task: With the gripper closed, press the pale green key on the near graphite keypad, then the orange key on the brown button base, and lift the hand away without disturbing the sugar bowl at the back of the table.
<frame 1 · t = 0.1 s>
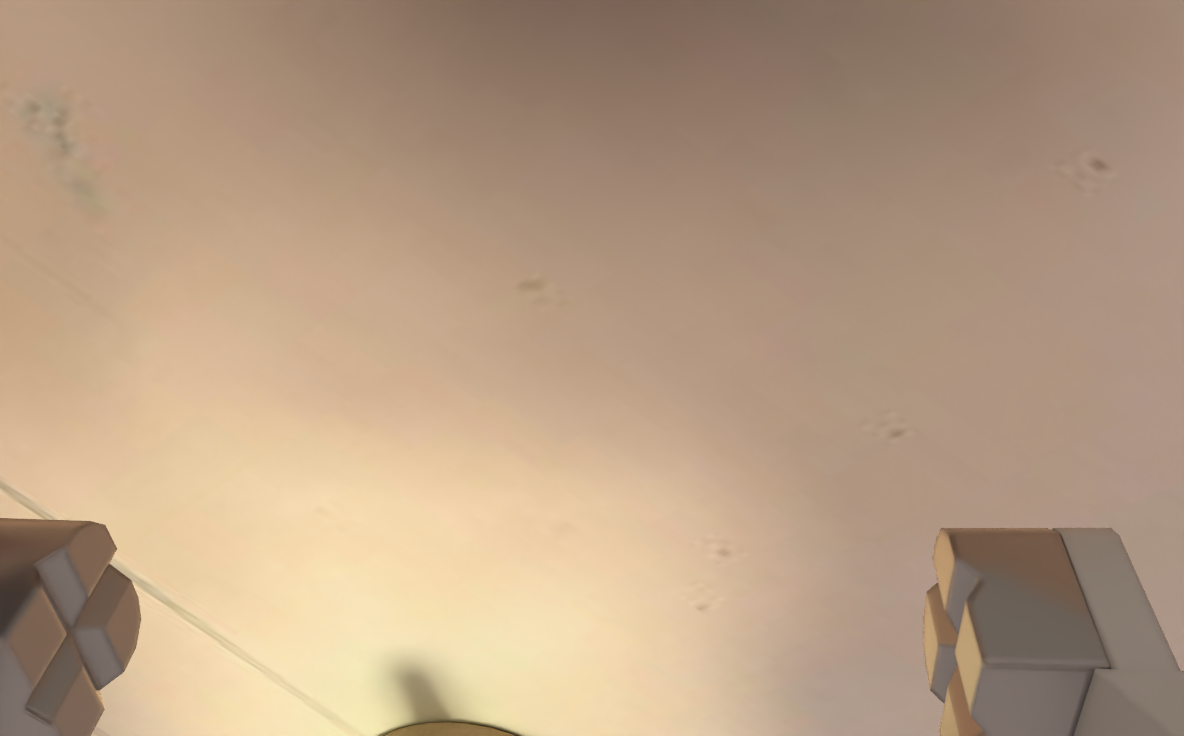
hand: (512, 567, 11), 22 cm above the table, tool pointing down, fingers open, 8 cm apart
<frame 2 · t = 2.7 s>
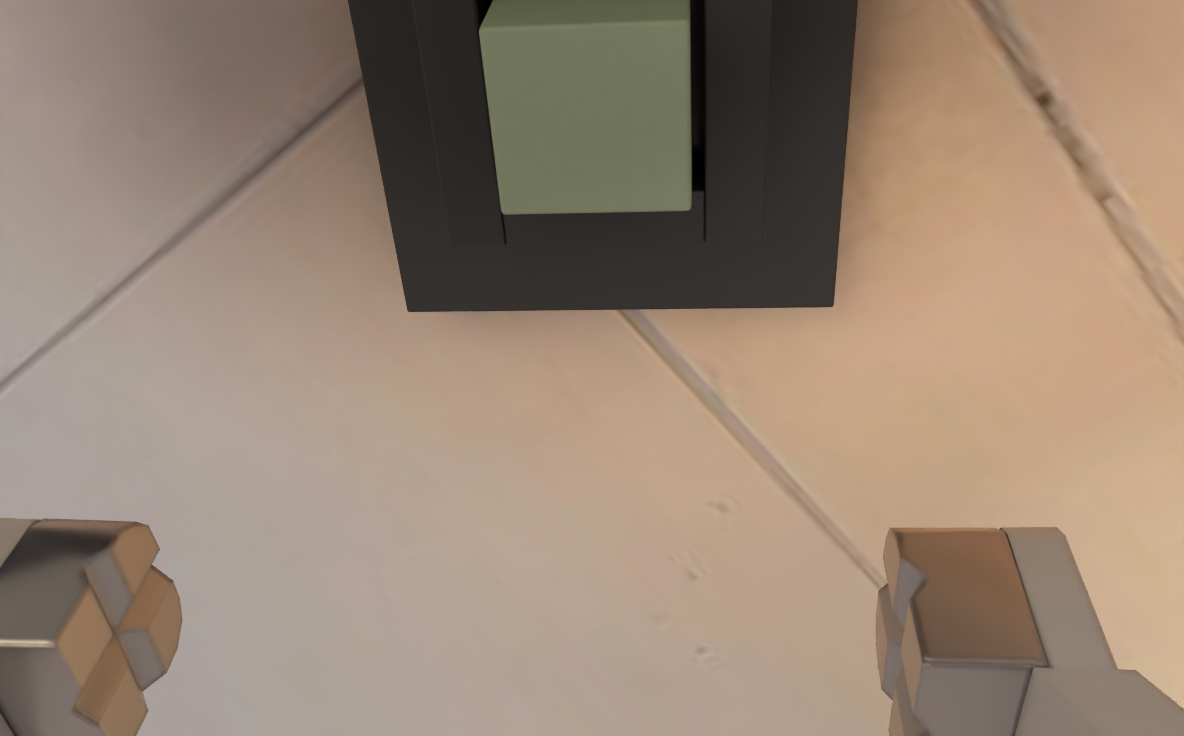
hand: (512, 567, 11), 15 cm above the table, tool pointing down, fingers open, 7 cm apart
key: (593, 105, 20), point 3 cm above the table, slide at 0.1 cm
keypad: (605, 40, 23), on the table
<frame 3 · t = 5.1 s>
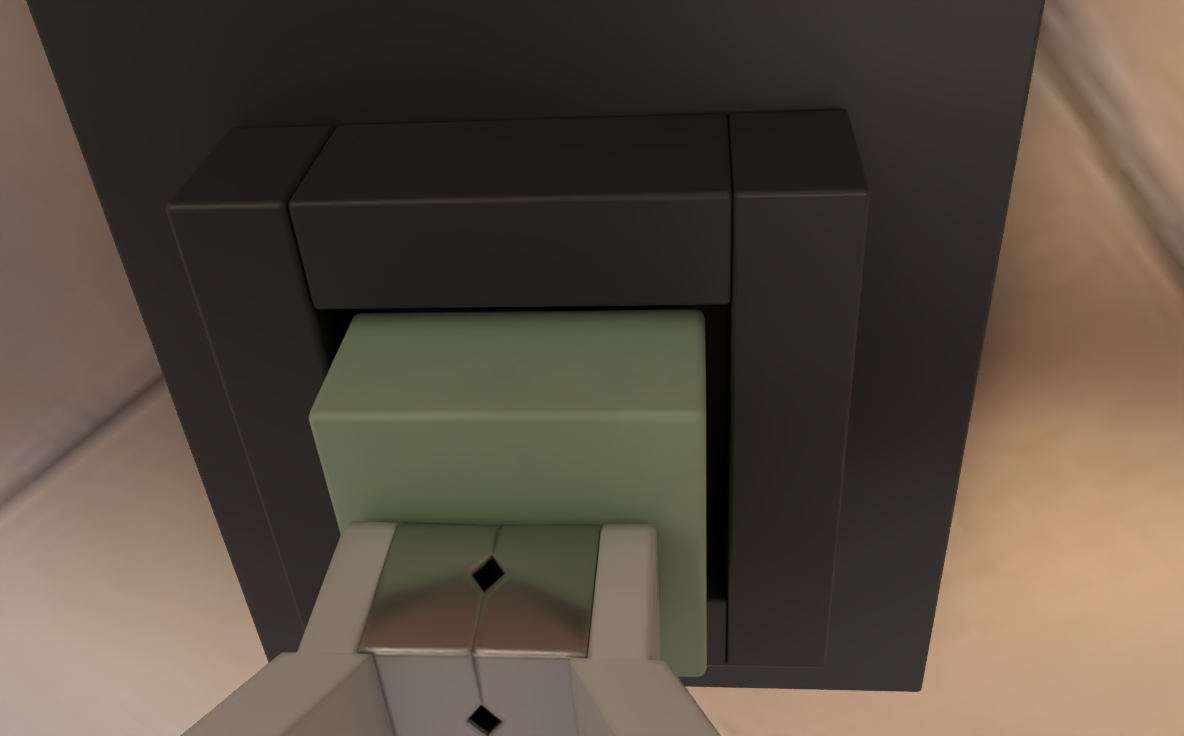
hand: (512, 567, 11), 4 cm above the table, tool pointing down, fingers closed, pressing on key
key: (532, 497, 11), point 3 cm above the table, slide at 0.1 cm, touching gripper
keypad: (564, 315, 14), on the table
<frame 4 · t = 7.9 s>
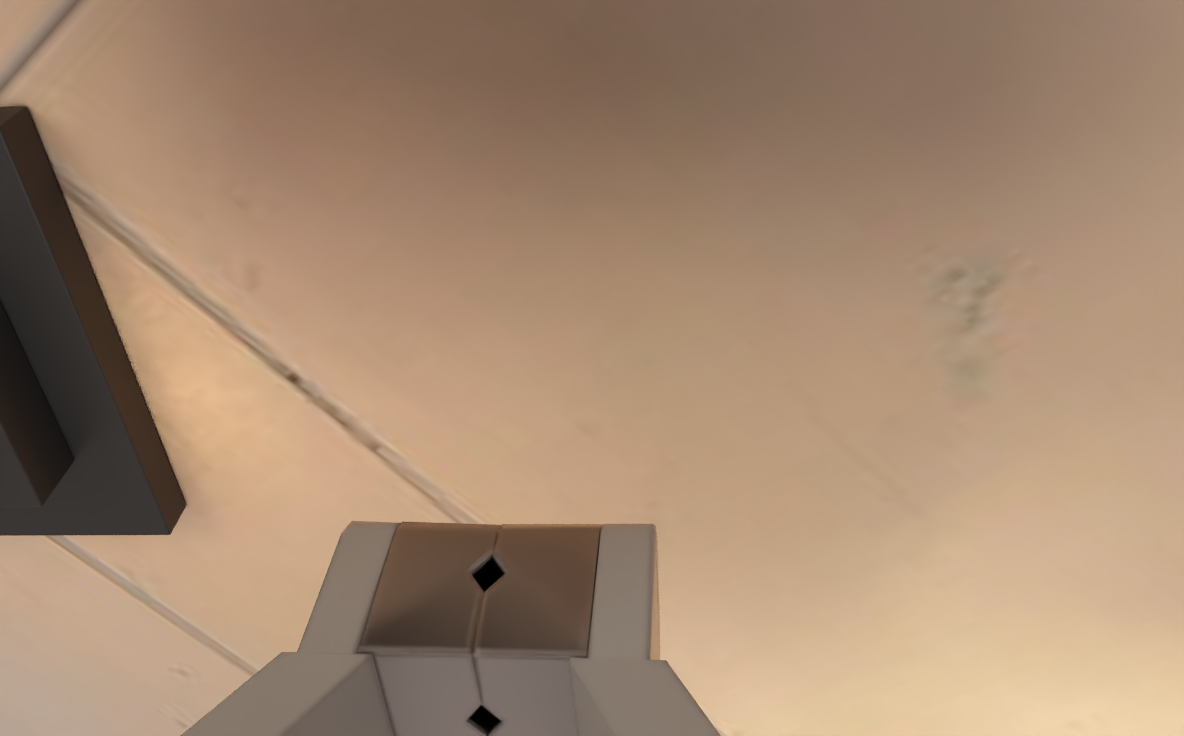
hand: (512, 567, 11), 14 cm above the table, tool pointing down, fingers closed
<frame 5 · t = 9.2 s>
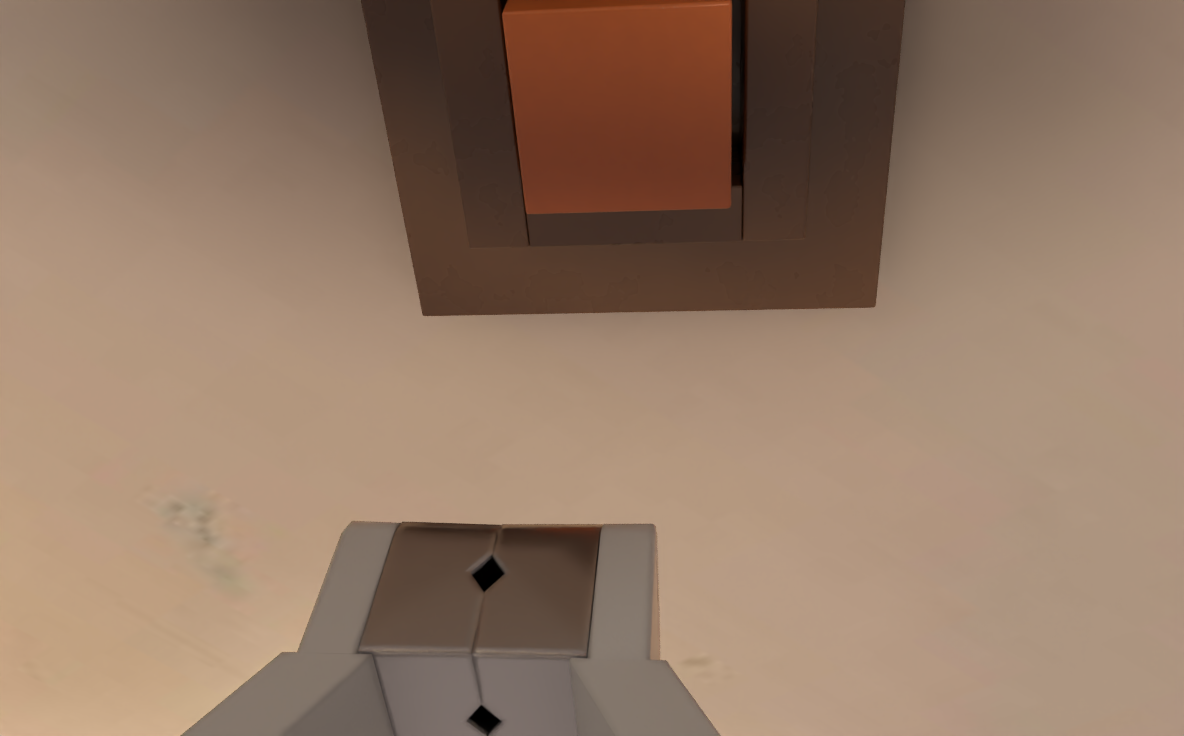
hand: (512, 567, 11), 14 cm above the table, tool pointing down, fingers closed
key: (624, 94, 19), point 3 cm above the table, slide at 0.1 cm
brown button base: (633, 24, 21), on the table
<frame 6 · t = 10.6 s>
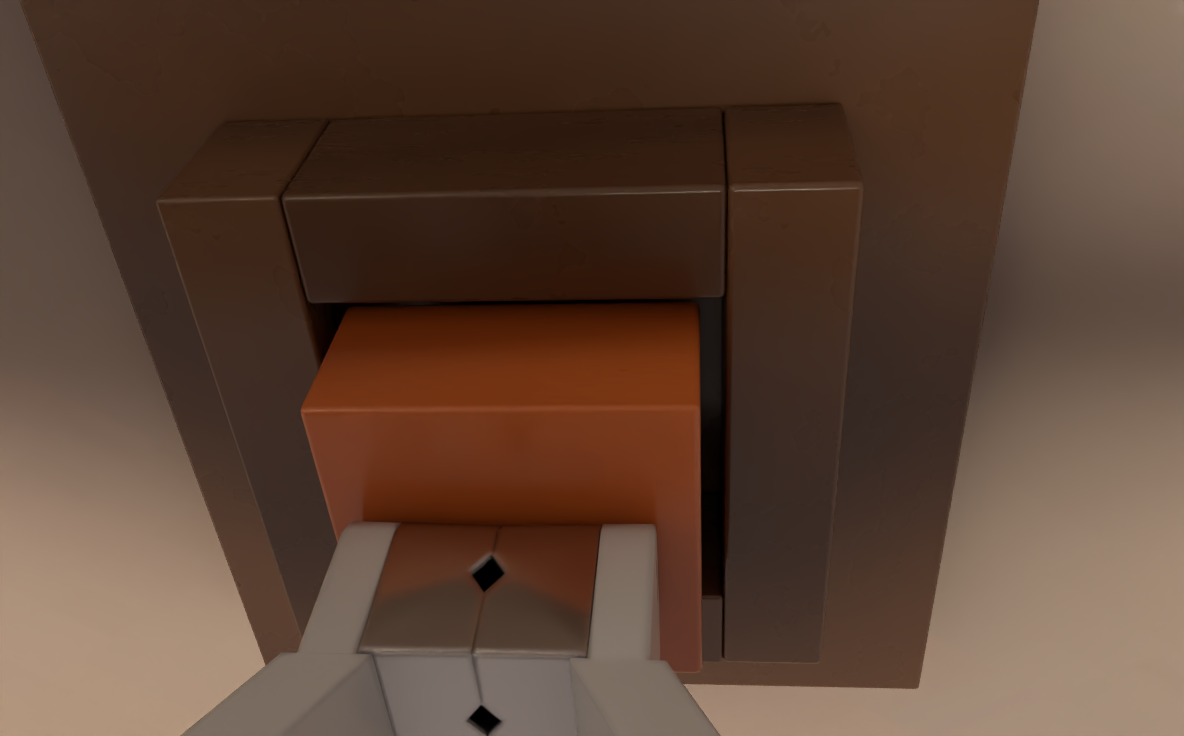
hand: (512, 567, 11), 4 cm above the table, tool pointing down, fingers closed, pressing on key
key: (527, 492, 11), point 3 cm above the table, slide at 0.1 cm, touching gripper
brown button base: (560, 311, 14), on the table
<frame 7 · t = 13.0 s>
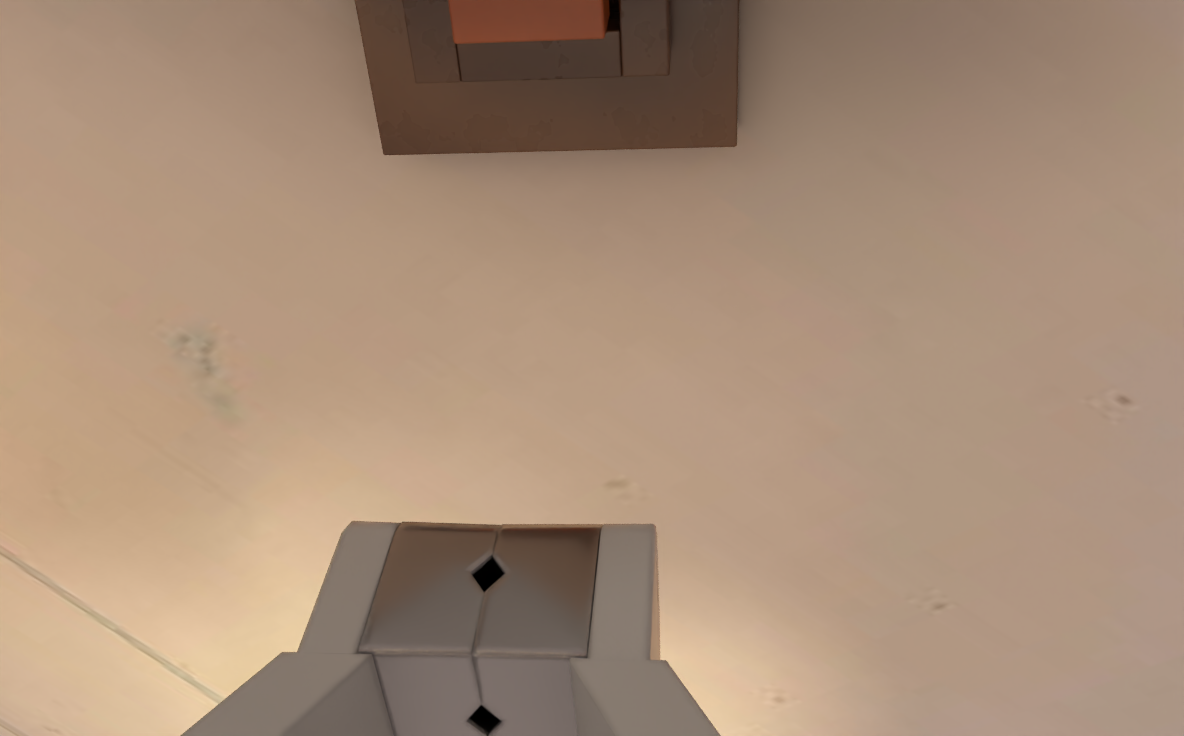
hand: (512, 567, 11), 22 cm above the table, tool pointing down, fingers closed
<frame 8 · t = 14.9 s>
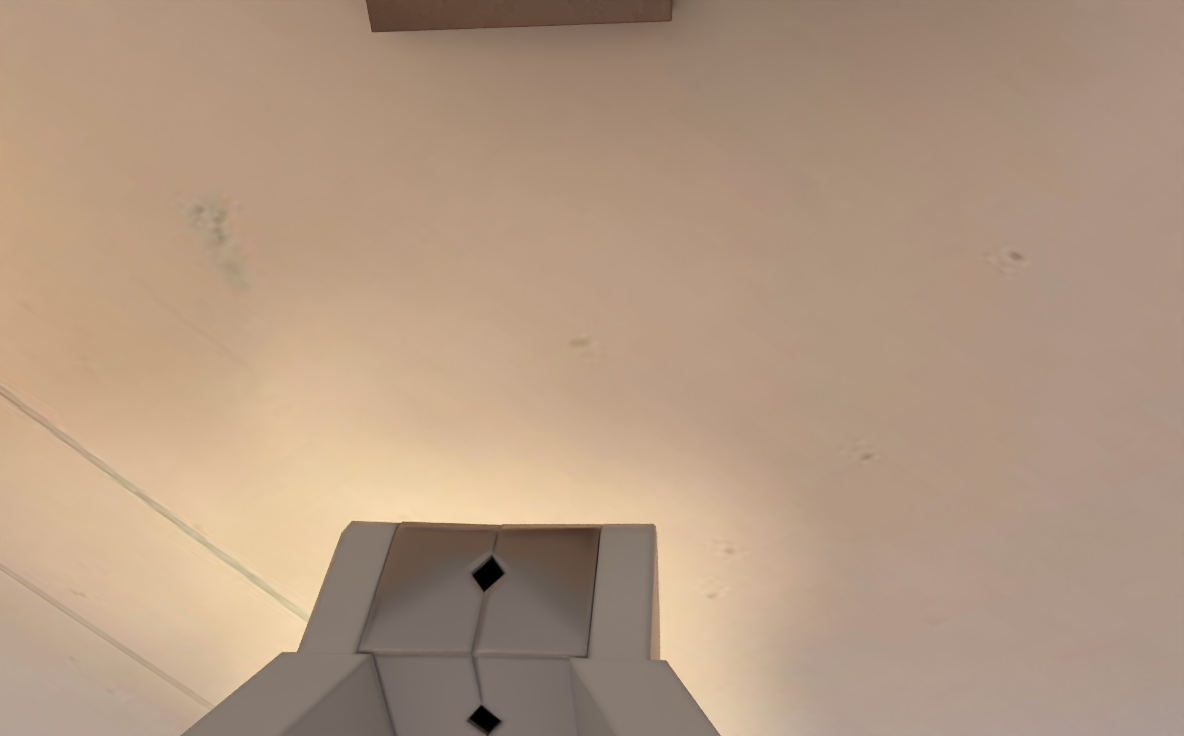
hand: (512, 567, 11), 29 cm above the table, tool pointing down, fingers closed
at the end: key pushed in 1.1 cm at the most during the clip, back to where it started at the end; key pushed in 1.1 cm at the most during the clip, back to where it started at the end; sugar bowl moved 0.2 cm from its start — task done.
